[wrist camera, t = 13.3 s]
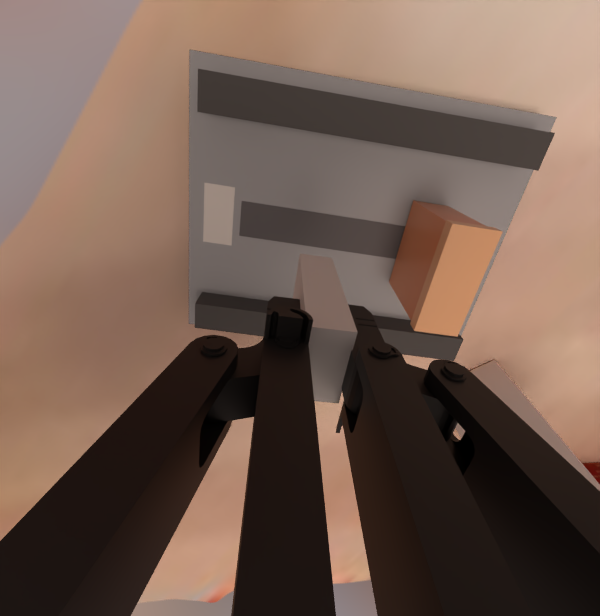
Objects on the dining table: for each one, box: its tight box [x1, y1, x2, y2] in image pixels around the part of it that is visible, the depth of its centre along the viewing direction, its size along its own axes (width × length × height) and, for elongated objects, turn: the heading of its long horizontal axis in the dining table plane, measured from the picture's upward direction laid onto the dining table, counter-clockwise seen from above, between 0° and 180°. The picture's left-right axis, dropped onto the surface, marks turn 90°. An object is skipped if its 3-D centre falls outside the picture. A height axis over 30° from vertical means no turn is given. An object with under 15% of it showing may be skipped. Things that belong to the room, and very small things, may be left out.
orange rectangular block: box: [389, 200, 503, 337], centre depth 21 cm, size 3×6×7 cm, turn 171°
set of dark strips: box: [195, 69, 555, 361], centre depth 23 cm, size 20×16×2 cm
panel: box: [189, 50, 557, 336], centre depth 25 cm, size 22×18×2 cm
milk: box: [455, 360, 600, 491], centre depth 24 cm, size 6×6×22 cm
